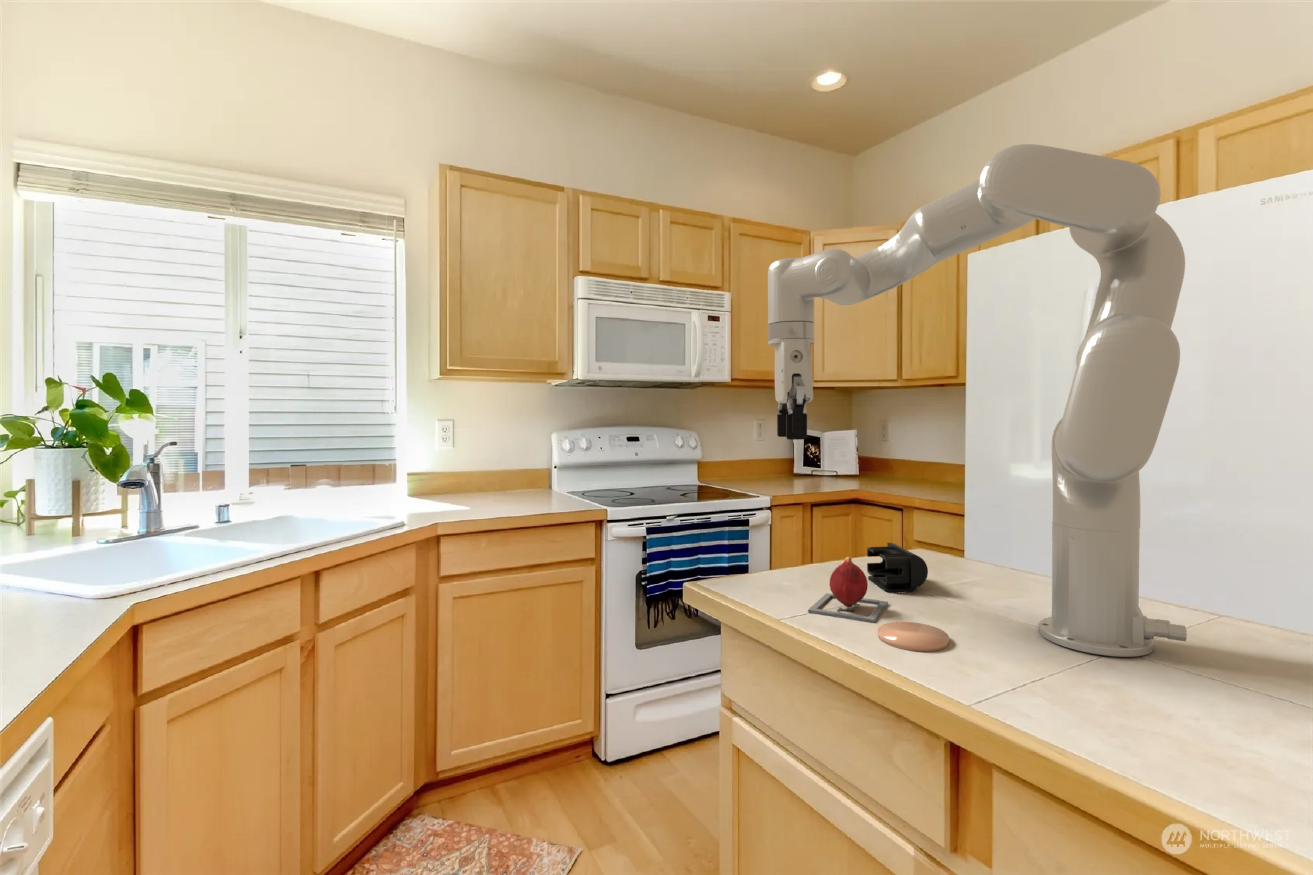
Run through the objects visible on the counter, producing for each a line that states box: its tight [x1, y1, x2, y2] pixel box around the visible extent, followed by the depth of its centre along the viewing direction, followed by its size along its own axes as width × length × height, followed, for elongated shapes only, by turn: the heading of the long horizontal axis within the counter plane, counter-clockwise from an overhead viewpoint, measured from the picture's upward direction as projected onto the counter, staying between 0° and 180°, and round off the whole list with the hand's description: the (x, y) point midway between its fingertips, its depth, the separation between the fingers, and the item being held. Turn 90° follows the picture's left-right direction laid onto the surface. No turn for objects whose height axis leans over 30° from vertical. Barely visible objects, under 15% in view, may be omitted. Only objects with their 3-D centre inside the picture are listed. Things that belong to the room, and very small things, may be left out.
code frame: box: [807, 592, 889, 623], centre depth 98 cm, size 10×10×1 cm
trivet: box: [877, 621, 950, 652], centre depth 84 cm, size 9×9×1 cm
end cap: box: [866, 542, 929, 594], centre depth 110 cm, size 10×7×7 cm
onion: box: [828, 556, 869, 608], centre depth 98 cm, size 6×6×8 cm
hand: (791, 437), depth 103 cm, fingers open, 9 cm apart
